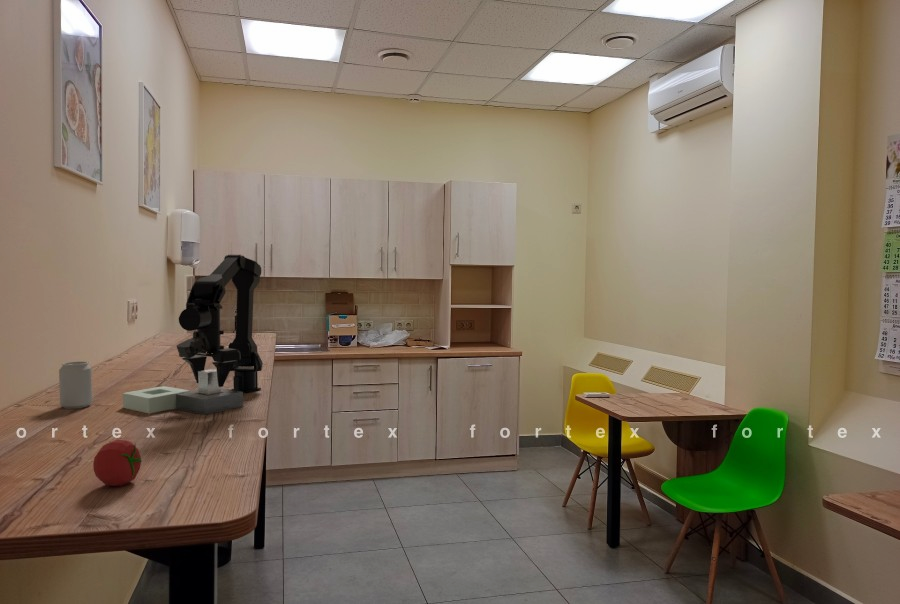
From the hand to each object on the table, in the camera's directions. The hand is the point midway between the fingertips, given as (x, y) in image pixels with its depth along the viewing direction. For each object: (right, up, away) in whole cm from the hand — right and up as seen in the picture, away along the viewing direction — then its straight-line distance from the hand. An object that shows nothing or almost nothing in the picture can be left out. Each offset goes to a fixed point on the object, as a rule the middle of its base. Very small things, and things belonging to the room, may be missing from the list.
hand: (209, 384), depth 167 cm
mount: (0, -6, 0) cm, 6 cm away
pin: (0, -6, 0) cm, 6 cm away
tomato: (+7, -10, -59) cm, 60 cm away
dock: (-15, -6, +1) cm, 16 cm away
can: (-36, -6, +1) cm, 37 cm away
